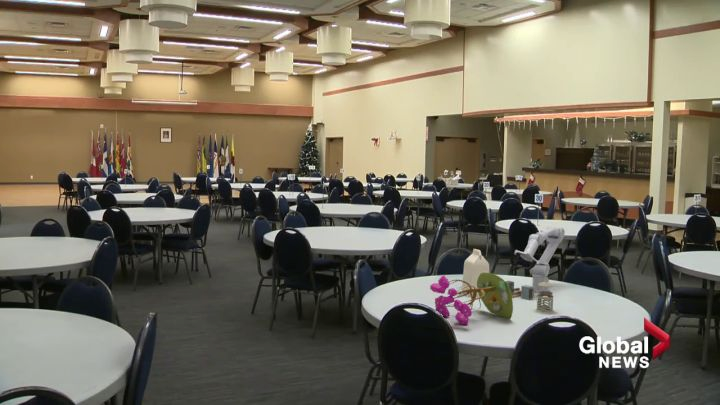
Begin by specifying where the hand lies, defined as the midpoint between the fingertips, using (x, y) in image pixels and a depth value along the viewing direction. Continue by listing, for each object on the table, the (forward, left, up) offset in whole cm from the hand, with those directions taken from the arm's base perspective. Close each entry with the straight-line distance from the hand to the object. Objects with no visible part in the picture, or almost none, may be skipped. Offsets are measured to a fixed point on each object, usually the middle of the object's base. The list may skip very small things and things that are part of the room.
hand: (521, 268), depth 364 cm
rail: (-2, -6, -16) cm, 18 cm away
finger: (0, +5, -16) cm, 17 cm away
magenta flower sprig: (+61, +18, -17) cm, 65 cm away
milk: (+17, -18, -17) cm, 30 cm away
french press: (+16, +28, -17) cm, 36 cm away
